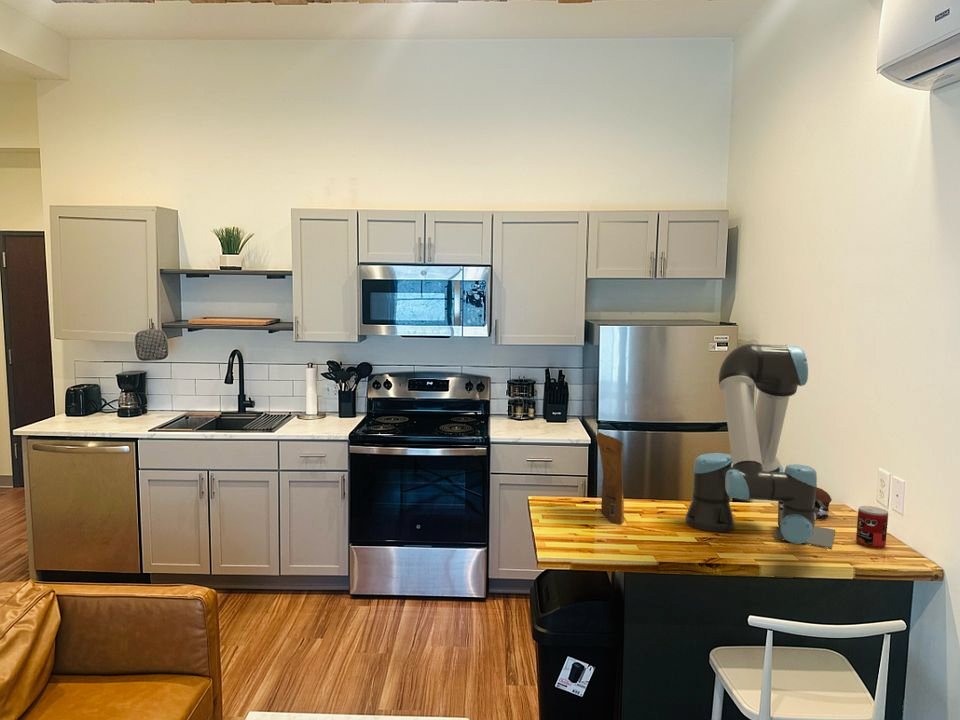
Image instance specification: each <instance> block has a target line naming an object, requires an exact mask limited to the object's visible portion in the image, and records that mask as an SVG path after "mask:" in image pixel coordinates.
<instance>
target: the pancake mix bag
mask: <svg viewBox="0 0 960 720" xmlns="http://www.w3.org/2000/svg"><path fill="white" fill-rule="evenodd" d="M595 436H596V437H595V439H596V443H597V445H598V449H599V454H600V462H601V469H602V485H601V487H602V488H601V505H600V507H601V510H600V514H602V515H603V516H604V517H605V519H607V520H608V521H609V522H610V523H611V524H616V525H623V524H622V523H624V520H625V507H624V505H625V504H624V479H623V475H624V474H623V473H624V469H623V468H624V466H623V456H624V455H623V451H624V450H623V449H624V443H623V442H622V441H621V440H620V439H618V438H616V437H613V436H610V435H606V434H604V433H601V432H600V431H598V432H597V433H596V435H595Z"/></svg>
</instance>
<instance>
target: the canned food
mask: <svg viewBox="0 0 960 720" xmlns="http://www.w3.org/2000/svg"><path fill="white" fill-rule="evenodd" d="M888 520H889V511H888V510H886V509H884V508H882V507H877V506H871V505H861V506H858V509H857V520H856V521H857V522H856V534H855V540H856V543H857V544H859V546H862V547H865V548H870V549H884V548H885V547H886V544H887V535H888V534H887V533H888V525H889V524H888Z"/></svg>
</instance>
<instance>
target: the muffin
mask: <svg viewBox="0 0 960 720" xmlns="http://www.w3.org/2000/svg"><path fill="white" fill-rule="evenodd" d="M816 499H820V500H821V502H822V503H823V504H824V506H825V507H827V508H830V503H831V502H832V501H833V500H832V497H831V495H830V494H829V493H828V492H827V491H826V490H824V489H822V488H820V487H818V486H817V488H816V498H815V500H816ZM823 518H826V519H827V517H824V516H820V515H819V516H818V517H817V518H816V519H822V520H824V519H823Z"/></svg>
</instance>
